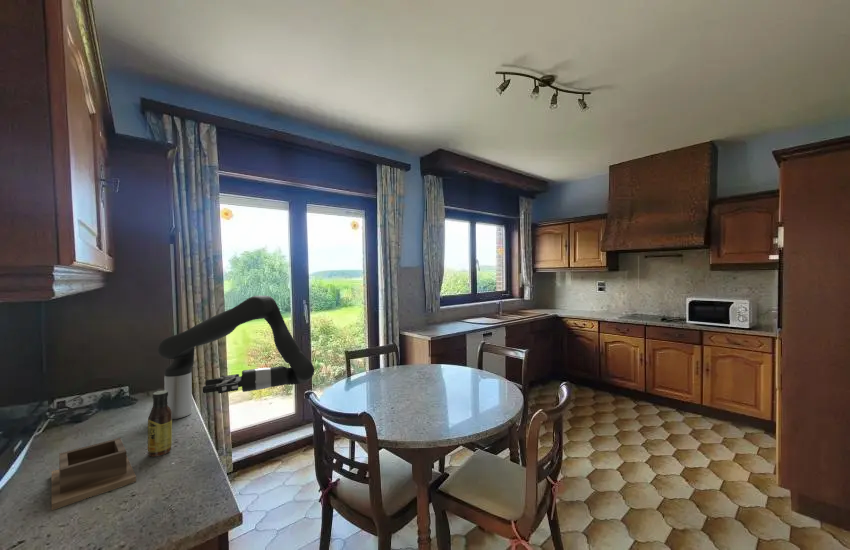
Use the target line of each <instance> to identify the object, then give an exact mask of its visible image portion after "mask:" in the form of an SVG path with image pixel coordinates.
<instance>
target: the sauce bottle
mask: <svg viewBox="0 0 850 550" xmlns="http://www.w3.org/2000/svg"><path fill="white" fill-rule="evenodd" d="M167 397H168V391H166V390H165V389H163V390H157V391H155V392H152V402H153V404H152V408H151V410H150V412H149V416H148V419H147V453H148V456H149V457H153V458H155V457H160V456H163V455H166V454H168V453H170V452H171V449H172V443H173V441H172V440H173V419H172V411H171V409H170V407H169V406H168V405H167V404H168V402H167Z"/></svg>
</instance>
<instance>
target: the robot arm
mask: <svg viewBox="0 0 850 550" xmlns="http://www.w3.org/2000/svg"><path fill="white" fill-rule="evenodd" d="M260 319H261V320H262V319H264V320H265V321H266V323H268V325H269V327H270V328H271V331H272V335H273V343H274V345H275V349H276V350H277V351H278V353H279V355H280V356H281V358H282V360H283V361H284V362H285V363H286V364H288V365H289V367H286V366H284V365H283V366H273V367H259V368H251V369H244V370H242V371H241V376H240V374H239V373H237V374H236V373H235V374H230V375H227V374H226V375H221V376H220V377H218V378H211V379H206V380H205V385H204V386H202V393H203V394H208V393H209V394H210V393H214V392H216V393H218V394H223V393H231V392H237V391H239V388H241V390H242V392H243V393H245V392H252V391H259V390H263V389H264V390H266V389H269V388H274V387H281V386H285V385H286V386H287V385H288V386H289V385H290V386H292V385H302V384H306V383H308V382H310V380H311V379H312V378H313V376H314V374H315V366H314V365H313V363H312V362H311V360H310V359H309V358H308V357H307V355H305V354H304V353H303V351H302V349H301V348H300V346H299V345H298V343H297V342H296V340H295V339H294V337H293V336H292V334H291V332H290V330H289V329H288V326H287V324H286V322H285V320H284V317H283V315H282V313H281V311H280V308H279V306H278V304H277V302H276V300H275V299H274V298H273V297H272V296H270V295H253V296H249V298H247V299H245V300H244V301H242V302H240V303H239V304H237V305H235V306H234V307H232V308H230V309H228V310H225V311H223V312H220V313H218V314H216V315H214V316H211V317H209V318H207V319H206V320H203V321H202V322H199V323H197V324H196V325H194V326H192V327H190V328H188V329H186V330H185V331H183V332H180V333H177V334H175V335H171V336H168V337H166V338H164V339H162V340H161V342H160V343H159V345H158V349H157V352H158V355H159V356H160V357H161V358H163V359H165V360H172V362H171V363H170V364H169V365H168V366H167V367H165V368H164V374H163V375H164V381H163V382H164V390H166V391H168V397H167V402H168V404H167V405H168V406H169V407H170V409H171V411H172V420H177V419H181V418H185V417H187V416H189V415H192V411H193V410H192V405H193V404H192V403H193V401H192V397H193V395H192V394H193V393H192V385H193V384H192V375H193V374H192V369H193V366H194V363H195V362H194V360H195V347H198V346H202V345H206V344H210V343H212V342H215V341H218V340H220V339H223V338H224V337H226V336H228V335H230V334H232V332H233V331H235V329H236V328H238V327H239V326H241V325H242V324H245V323H248V322H251V321H255V320H260Z"/></svg>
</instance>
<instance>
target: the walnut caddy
mask: <svg viewBox="0 0 850 550" xmlns="http://www.w3.org/2000/svg"><path fill="white" fill-rule="evenodd" d="M58 460H59V461H58V462H59V463H58V464H59V466H58V467H59V468H58V469H55V470H51V511H54V510H56V509H60V508H62V507H66V506H69V505H72V504H74V503H78V502H81V501H84V500H87V499H89V497H90V498H92V496H93V497H96V496H98V495H101V494H105V493H107V492H110V491H114V490H115V489H118V488H121V487H125V486H128V485H131V484H133V482H134V483H136V482H137V475H136V474H135V471H134V469H133V466H132V464H131V462H130V460H129V457H128V455H127V450H126V448H125V445H124V443H123V441H122V438H121V437H118V438H114V439H110V440H106V441H102V442H99V443H95V444H94V443H93V444H90V445H87V446H84V447H79V448H75V449H71V450H67V451H63V452H60V453H59V458H58ZM86 498H87V499H86ZM83 499H84V500H83Z"/></svg>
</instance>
